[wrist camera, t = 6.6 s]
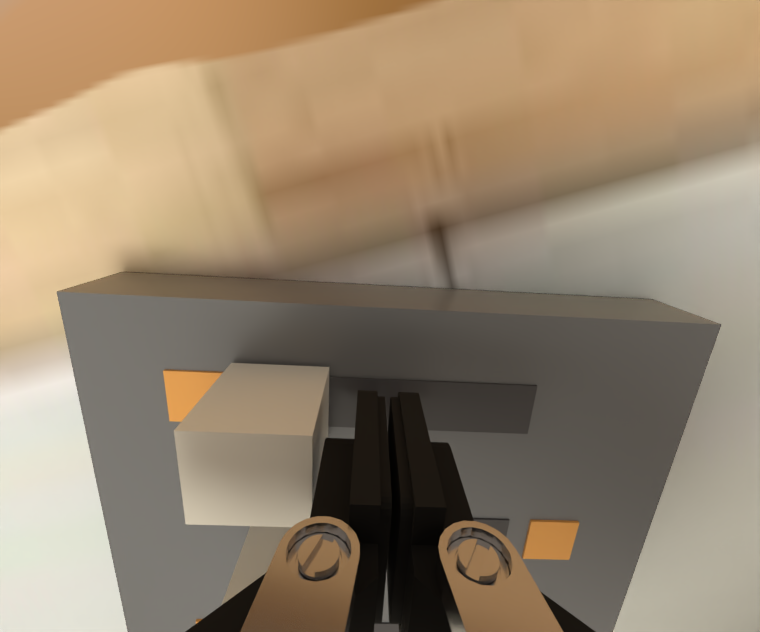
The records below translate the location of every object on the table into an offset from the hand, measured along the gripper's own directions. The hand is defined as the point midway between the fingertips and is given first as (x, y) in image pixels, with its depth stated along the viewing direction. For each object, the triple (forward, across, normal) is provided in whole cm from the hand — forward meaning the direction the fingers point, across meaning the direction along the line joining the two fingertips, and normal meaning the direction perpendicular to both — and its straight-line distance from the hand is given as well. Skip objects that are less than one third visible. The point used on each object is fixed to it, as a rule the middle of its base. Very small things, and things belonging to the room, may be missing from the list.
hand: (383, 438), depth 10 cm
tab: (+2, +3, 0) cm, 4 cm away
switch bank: (+5, 0, +6) cm, 8 cm away
